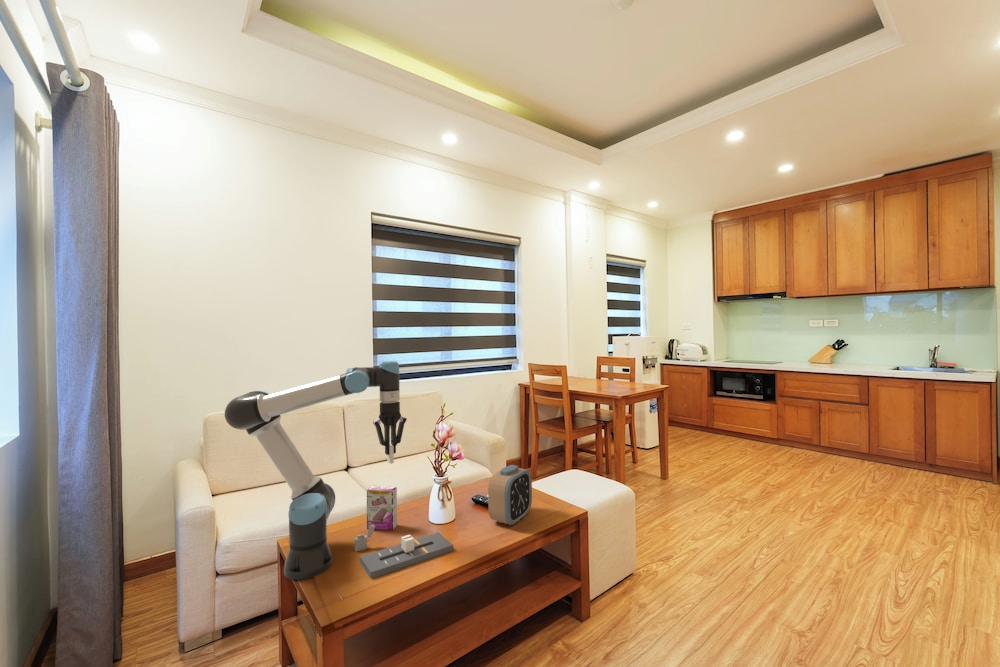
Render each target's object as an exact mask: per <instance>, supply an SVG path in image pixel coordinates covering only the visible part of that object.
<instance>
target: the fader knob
mask: <svg viewBox="0 0 1000 667" xmlns="http://www.w3.org/2000/svg"><path fill="white" fill-rule="evenodd" d="M400 539H401V540H400V541H401V543H400V544H401V549H402V550H403V551H404V552H405V553H409V552H412V551H414V539H415V538H414V537H413V536H412V535H411V534H406V535H404V536H401V538H400Z"/></svg>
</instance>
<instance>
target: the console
mask: <svg viewBox="0 0 1000 667" xmlns="http://www.w3.org/2000/svg"><path fill="white" fill-rule="evenodd" d="M453 551H454V544H452V542H451V541H449V540H448V539H447V538H446V537H444V536H443V535H442V534H441V533H440V532H436V533H432V534H429V535H426V536H422V537H419V538H417V539H415V538H414V551H412V552H409V553H405V552H404V551H403V550H402V549H401V543H400V544H396V545H393V546H390V547H387V548H383V549H380V550H376V551H373V552H370V553H367V554H364V555H361V556H359V563H360V565H361V566H362V567H363V569H364V570H365V572H366V573H367V575H368V577H369V578H370V579H374V578H377V577H379V576H382V575H386V574H388V573H390V572H391V573H392V572H394V571H397V570H401V569H403V568H406V567H409V566H411V565H414V564H415V565H416V564H418V563H421V562H424V561H426V560H430V559H431V558H436V557H438V556H440V555H444V554H447V553H450V552H453Z"/></svg>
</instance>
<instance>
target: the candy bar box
mask: <svg viewBox="0 0 1000 667" xmlns="http://www.w3.org/2000/svg"><path fill="white" fill-rule="evenodd" d="M397 490H398V488H397V486H387V485H383V486H382V485H370V486H369V487H368V488H367V489H366V529H367V530H369V528H370V526H371V524H372V525H375V529H374V530H377V531H394V529H395V528H396V527H397V526H398V502H397V501H398V497H397V495H398V493H397V492H398V491H397Z"/></svg>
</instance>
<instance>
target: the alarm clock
mask: <svg viewBox="0 0 1000 667" xmlns="http://www.w3.org/2000/svg"><path fill="white" fill-rule="evenodd" d="M489 479H490V480H489V483H488V488H487V489H488V492H487V494H488V500H487V504H488V515H489V518H490V519H491V520H493V521H496V523H499V522H500V523H499V524H502V523H505V524H504V525H506V524H509V525H508V526H510V525H513V524H515V523H516V522H517V521H518V522H519V521H521V520H522V519H523V518H525V516H526V515H527V514H528V513H529V512H530V510H531V507H532V502H533V500H532V499H533V490H532V488H533V481H532V480H533V478H532V474H531V471H530V470H528V469H525V468H519V465H515V464H509V465H507V466H505V467H503V468H501V469H500V470H499V471H497V472H496V473H494V474H493V475H492V476H491V478H489ZM522 517H523V518H522ZM521 518H522V519H521ZM520 519H521V520H520ZM518 522H517V523H518ZM517 523H516V524H517ZM516 524H515V525H516ZM513 526H514V525H513Z"/></svg>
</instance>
